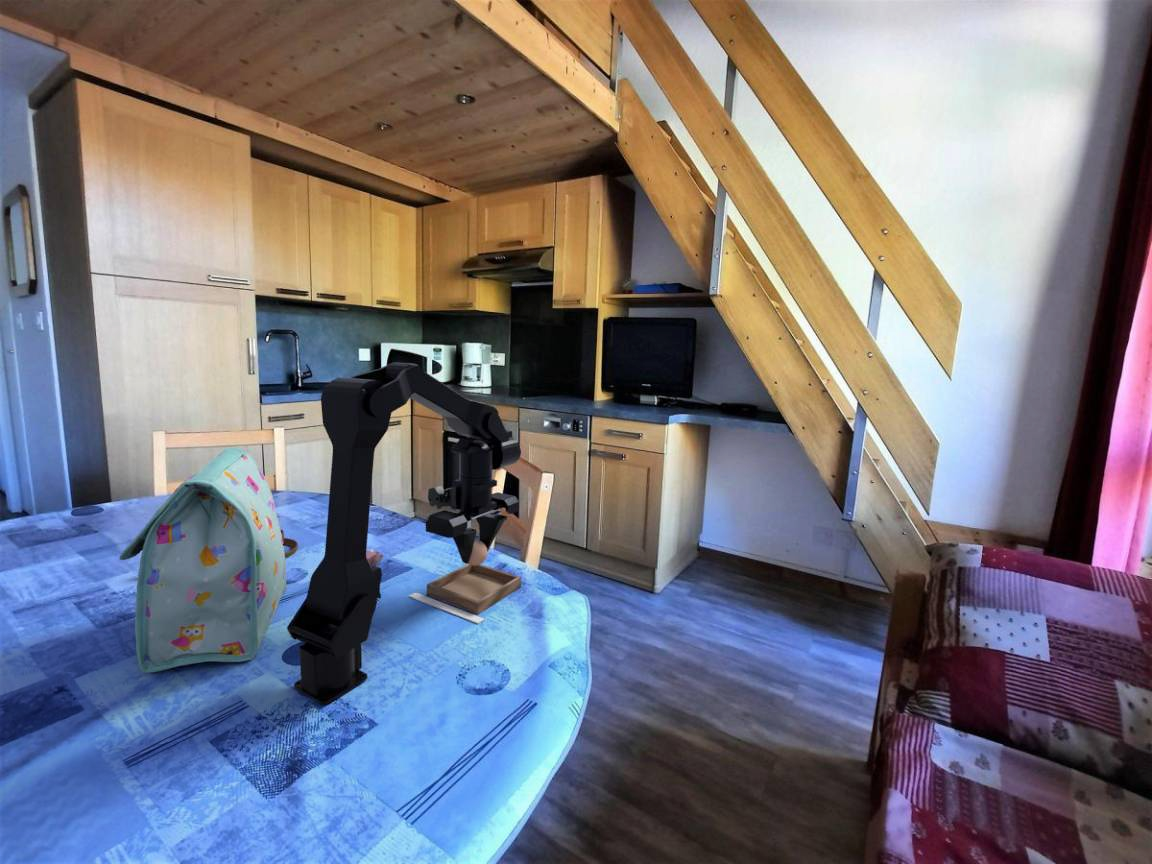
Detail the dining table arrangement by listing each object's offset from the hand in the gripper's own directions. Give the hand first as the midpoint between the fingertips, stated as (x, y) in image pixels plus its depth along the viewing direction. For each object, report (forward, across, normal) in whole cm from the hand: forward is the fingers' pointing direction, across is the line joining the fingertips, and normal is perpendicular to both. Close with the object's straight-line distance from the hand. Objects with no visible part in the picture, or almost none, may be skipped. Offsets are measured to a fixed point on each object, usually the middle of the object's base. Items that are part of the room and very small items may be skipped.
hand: (474, 558), depth 91 cm
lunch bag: (+7, +31, -23) cm, 39 cm away
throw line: (+6, +7, 0) cm, 10 cm away
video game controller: (+7, +9, -20) cm, 23 cm away
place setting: (+7, +15, -49) cm, 52 cm away
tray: (+6, 0, 0) cm, 6 cm away
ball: (+1, 0, 0) cm, 1 cm away
